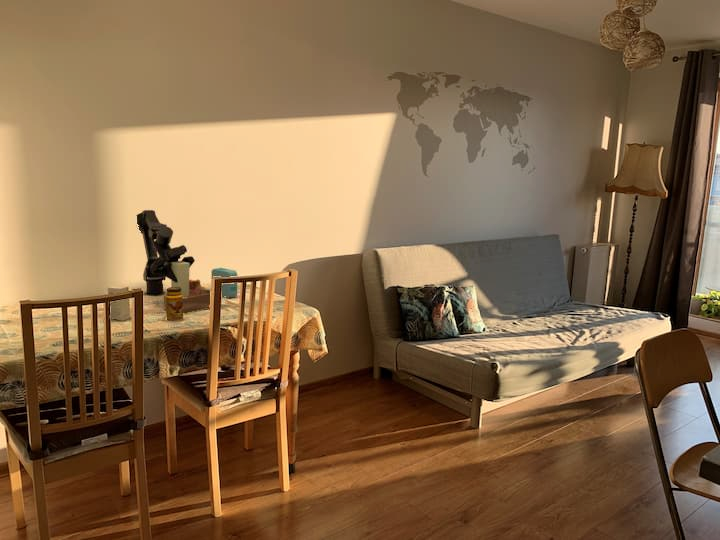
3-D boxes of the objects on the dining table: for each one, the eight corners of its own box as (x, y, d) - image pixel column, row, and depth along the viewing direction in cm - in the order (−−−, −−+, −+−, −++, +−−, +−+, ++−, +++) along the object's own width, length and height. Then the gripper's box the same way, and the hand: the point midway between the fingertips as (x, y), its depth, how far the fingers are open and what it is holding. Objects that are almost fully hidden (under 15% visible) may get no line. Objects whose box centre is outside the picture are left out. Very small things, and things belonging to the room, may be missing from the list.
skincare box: (130, 318, 220) (129, 286, 218) (122, 321, 216) (121, 288, 214) (116, 316, 222) (115, 284, 220) (108, 319, 218) (107, 286, 216)
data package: (237, 297, 260) (237, 270, 258) (229, 298, 257) (229, 272, 255) (219, 293, 267) (219, 267, 265) (211, 294, 263) (211, 268, 261)
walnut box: (164, 310, 234) (163, 295, 233) (202, 302, 249) (202, 288, 248) (180, 314, 228) (180, 299, 227) (218, 306, 243) (218, 291, 242)
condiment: (176, 322, 217) (176, 290, 215) (157, 320, 219) (156, 288, 217) (188, 317, 224) (187, 287, 221) (169, 315, 226) (168, 285, 224)
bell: (175, 297, 258) (175, 280, 256) (191, 291, 269) (190, 276, 268) (198, 299, 254) (198, 283, 253) (213, 294, 266) (213, 278, 264)
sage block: (171, 295, 241) (171, 262, 239) (181, 294, 245) (181, 261, 243) (178, 298, 239) (179, 264, 236) (188, 296, 242) (189, 263, 240)
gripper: (153, 241, 232) (171, 272, 228) (191, 237, 248) (209, 266, 243) (142, 258, 238) (159, 288, 234) (180, 253, 253) (197, 282, 249)
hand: (182, 281), depth 240 cm, fingers closed on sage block, 5 cm apart
